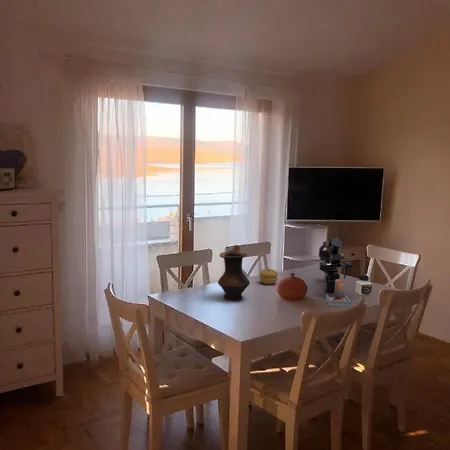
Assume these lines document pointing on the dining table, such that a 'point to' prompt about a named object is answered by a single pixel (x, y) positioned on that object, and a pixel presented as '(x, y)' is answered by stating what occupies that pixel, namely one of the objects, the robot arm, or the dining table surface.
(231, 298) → the dark brown vase
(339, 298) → the wooden spool
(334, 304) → the notched board
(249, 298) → the dining table surface
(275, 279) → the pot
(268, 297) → the dining table surface
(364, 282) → the medicine bottle
